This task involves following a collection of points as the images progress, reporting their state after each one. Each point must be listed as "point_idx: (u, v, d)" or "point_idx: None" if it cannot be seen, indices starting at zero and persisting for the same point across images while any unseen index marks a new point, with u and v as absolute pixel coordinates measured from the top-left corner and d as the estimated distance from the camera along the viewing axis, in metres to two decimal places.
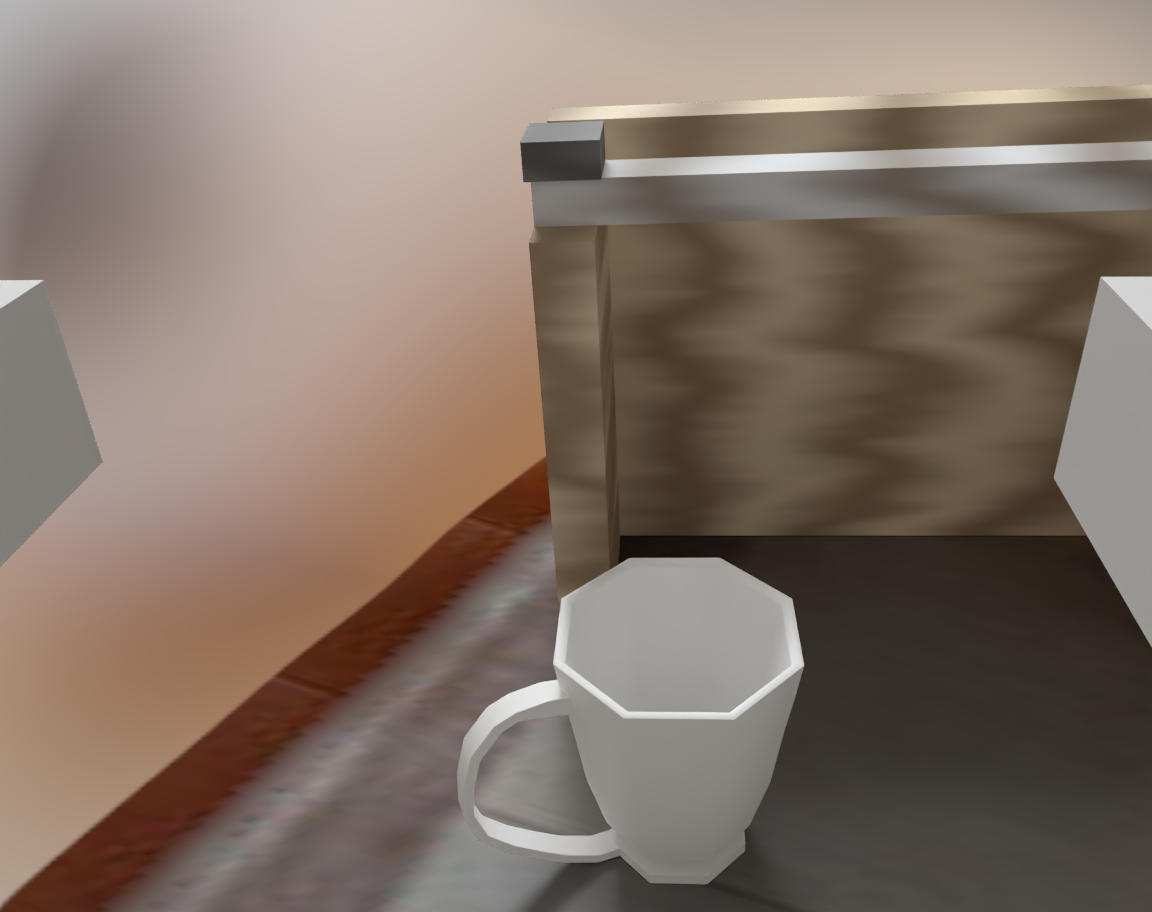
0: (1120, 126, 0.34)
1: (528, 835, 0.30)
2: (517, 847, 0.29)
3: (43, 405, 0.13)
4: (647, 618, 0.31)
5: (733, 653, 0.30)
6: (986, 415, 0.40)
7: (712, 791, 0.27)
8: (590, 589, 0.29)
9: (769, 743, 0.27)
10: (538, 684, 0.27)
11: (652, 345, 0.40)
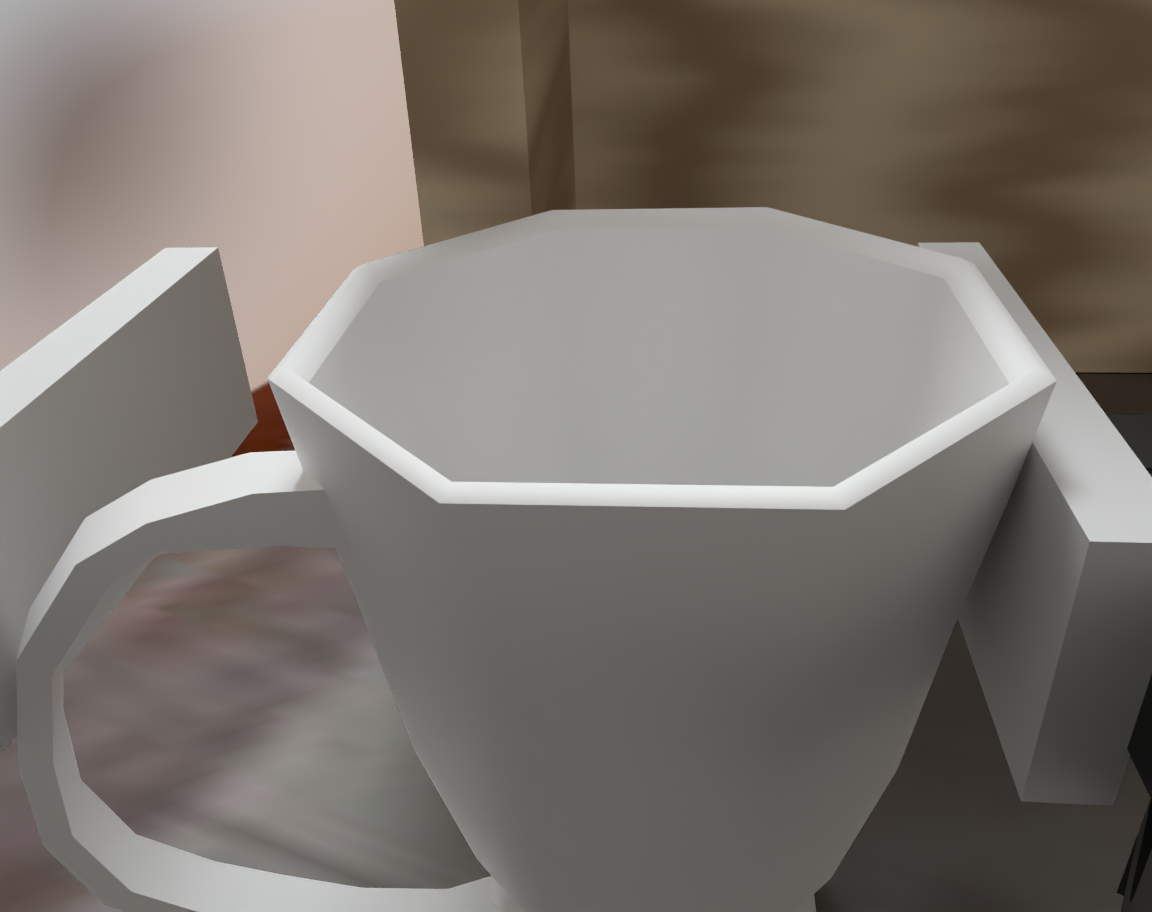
0: None
1: (273, 887, 0.12)
2: None
3: (217, 364, 0.14)
4: (591, 370, 0.13)
5: (798, 450, 0.12)
6: None
7: (748, 784, 0.09)
8: (435, 254, 0.11)
9: (917, 647, 0.09)
10: (242, 458, 0.09)
11: None
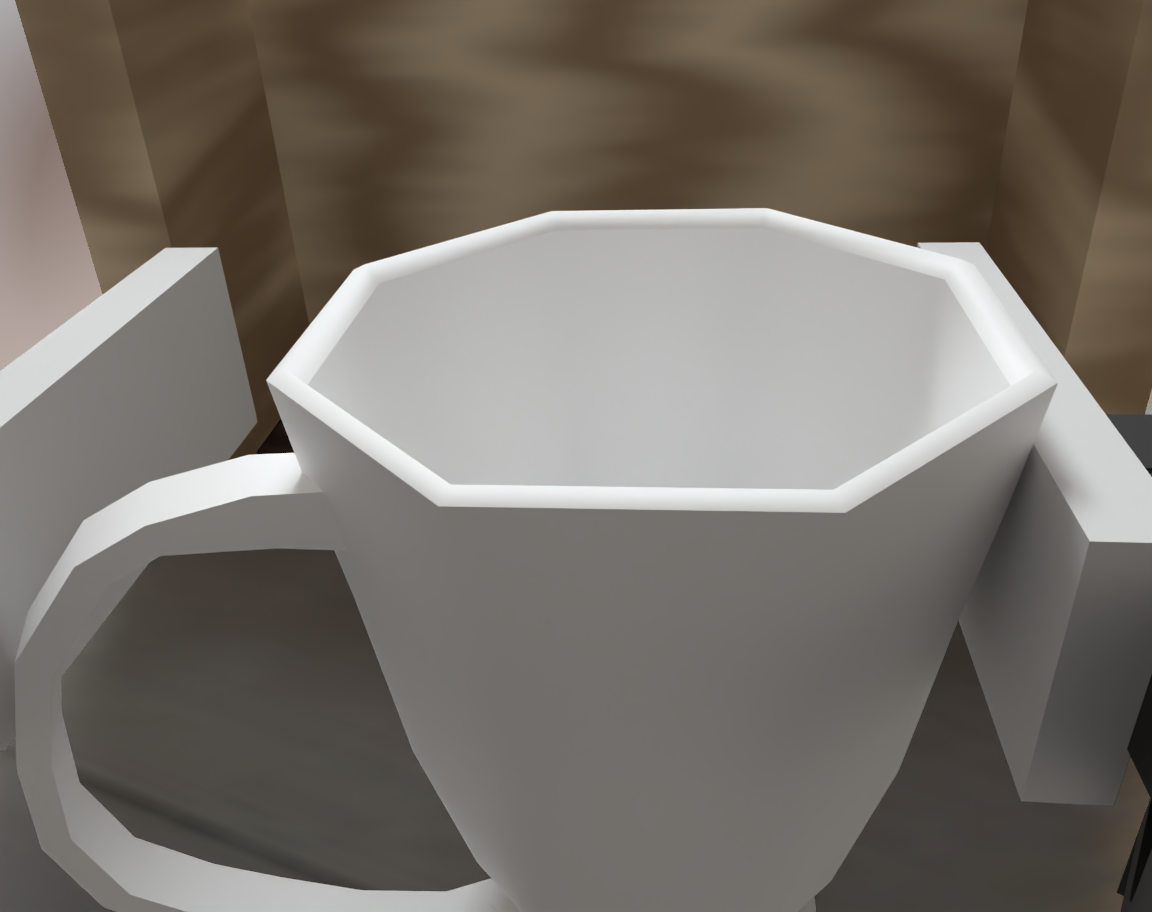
0: None
1: (272, 889, 0.12)
2: None
3: (217, 365, 0.14)
4: (590, 371, 0.13)
5: (798, 452, 0.12)
6: (802, 176, 0.28)
7: (748, 788, 0.09)
8: (435, 256, 0.11)
9: (918, 649, 0.09)
10: (241, 460, 0.09)
11: (314, 60, 0.27)
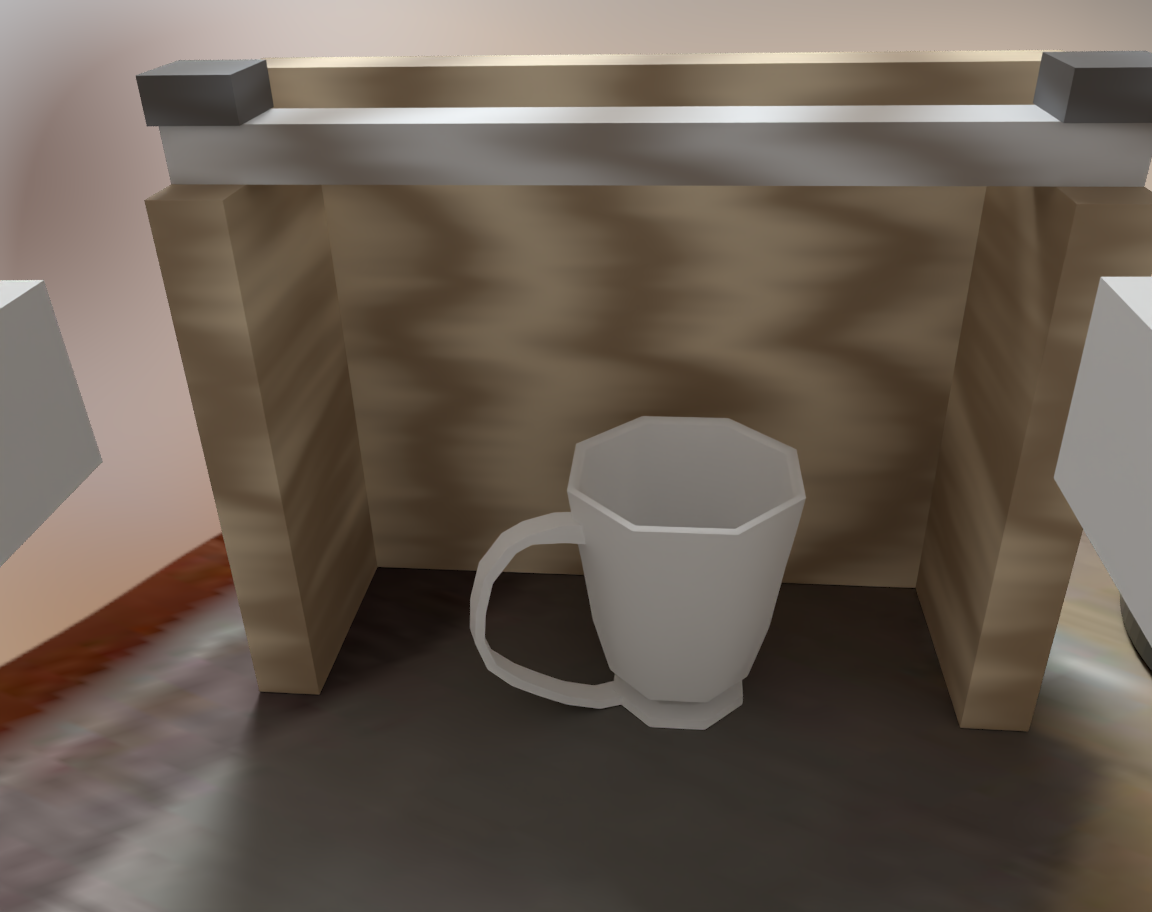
0: (913, 96, 0.29)
1: (534, 674, 0.31)
2: (524, 682, 0.30)
3: (43, 405, 0.13)
4: (656, 476, 0.32)
5: (738, 511, 0.32)
6: (783, 441, 0.34)
7: (714, 619, 0.28)
8: (603, 437, 0.31)
9: (769, 579, 0.28)
10: (551, 514, 0.29)
11: (389, 343, 0.34)
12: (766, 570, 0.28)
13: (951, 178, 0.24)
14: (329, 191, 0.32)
